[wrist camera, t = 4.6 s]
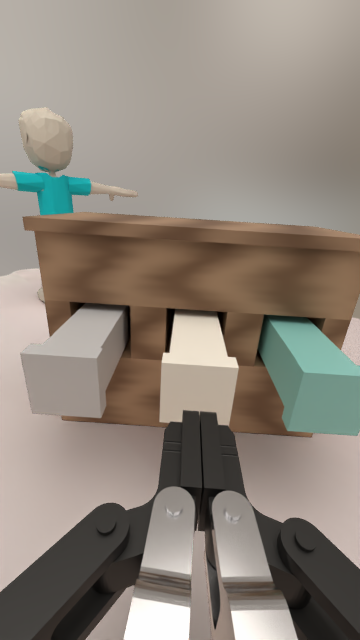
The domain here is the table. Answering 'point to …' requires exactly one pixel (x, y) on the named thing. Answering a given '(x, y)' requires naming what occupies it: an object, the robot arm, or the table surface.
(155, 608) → the robot arm
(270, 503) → the table surface
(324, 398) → the teal key
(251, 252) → the console
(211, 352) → the ivory key
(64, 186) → the toy
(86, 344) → the grey key
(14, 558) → the table surface
